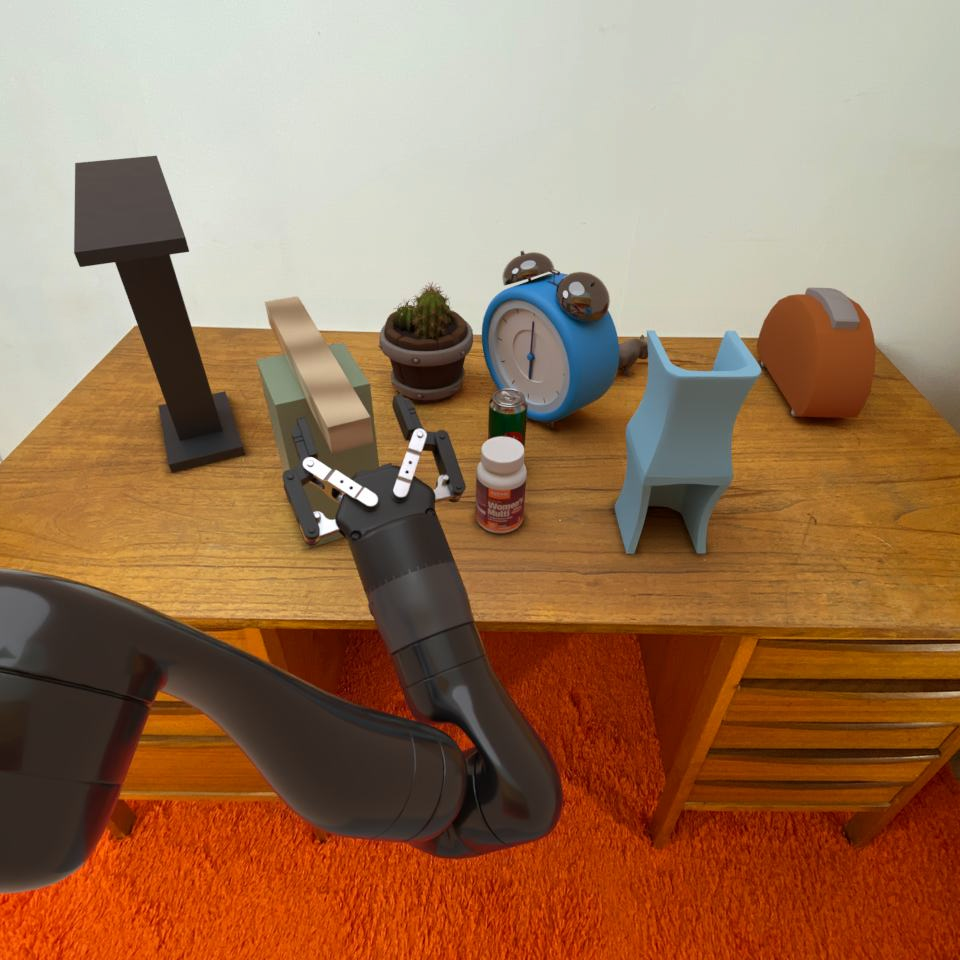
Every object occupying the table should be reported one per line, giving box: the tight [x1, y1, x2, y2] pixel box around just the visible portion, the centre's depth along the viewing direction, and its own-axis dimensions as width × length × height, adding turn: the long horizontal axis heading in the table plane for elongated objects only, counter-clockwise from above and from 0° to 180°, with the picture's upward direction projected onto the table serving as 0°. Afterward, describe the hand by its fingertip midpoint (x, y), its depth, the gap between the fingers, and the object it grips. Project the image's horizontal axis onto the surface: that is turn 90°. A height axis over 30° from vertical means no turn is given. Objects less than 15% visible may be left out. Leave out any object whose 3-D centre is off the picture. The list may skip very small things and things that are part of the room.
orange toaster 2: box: [756, 287, 877, 419], centre depth 102 cm, size 23×9×17 cm, turn 179°
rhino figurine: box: [618, 334, 648, 377], centre depth 109 cm, size 4×14×6 cm, turn 123°
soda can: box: [487, 389, 528, 450], centre depth 86 cm, size 5×5×12 cm
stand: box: [73, 155, 246, 474], centre depth 85 cm, size 34×10×34 cm, turn 26°
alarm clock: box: [481, 250, 620, 431], centre depth 95 cm, size 20×10×23 cm, turn 41°
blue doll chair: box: [614, 329, 762, 555], centre depth 74 cm, size 10×10×25 cm
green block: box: [256, 341, 380, 550], centre depth 76 cm, size 10×10×21 cm
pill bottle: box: [475, 437, 528, 534], centre depth 79 cm, size 6×6×11 cm
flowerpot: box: [377, 281, 474, 404], centre depth 100 cm, size 14×15×20 cm
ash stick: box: [264, 295, 373, 453], centre depth 68 cm, size 28×4×3 cm, turn 25°
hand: (349, 409), depth 55 cm, fingers open, 8 cm apart
